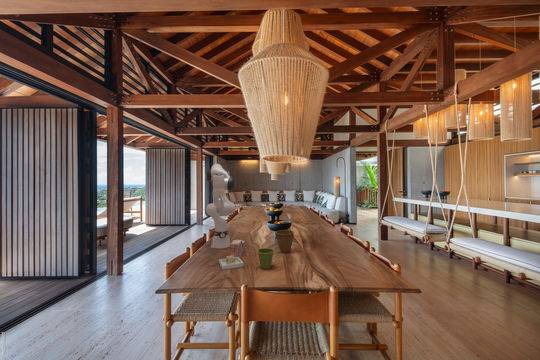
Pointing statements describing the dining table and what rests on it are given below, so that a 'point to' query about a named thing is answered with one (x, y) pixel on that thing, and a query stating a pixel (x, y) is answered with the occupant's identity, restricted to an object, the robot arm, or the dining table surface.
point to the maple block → (230, 260)
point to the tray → (231, 266)
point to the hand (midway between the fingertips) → (219, 213)
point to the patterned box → (237, 248)
